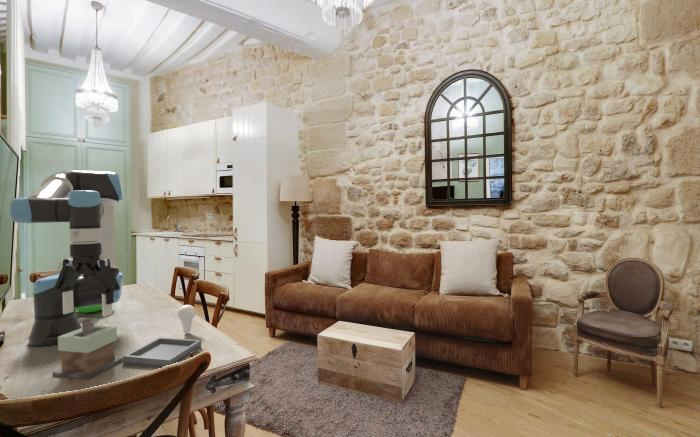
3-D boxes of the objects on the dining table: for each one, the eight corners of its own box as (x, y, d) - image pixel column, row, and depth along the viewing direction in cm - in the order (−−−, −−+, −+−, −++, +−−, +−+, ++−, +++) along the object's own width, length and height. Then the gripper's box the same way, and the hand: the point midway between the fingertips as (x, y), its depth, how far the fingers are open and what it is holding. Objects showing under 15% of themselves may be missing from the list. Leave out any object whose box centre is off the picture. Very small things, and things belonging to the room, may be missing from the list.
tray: (123, 364, 109) (123, 356, 109) (159, 344, 125) (159, 337, 125) (169, 368, 106) (169, 360, 106) (201, 347, 122) (201, 340, 122)
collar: (87, 353, 100) (87, 339, 100) (58, 350, 102) (57, 336, 102) (116, 339, 110) (116, 327, 110) (89, 337, 112) (89, 325, 112)
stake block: (52, 375, 102) (50, 324, 101) (90, 357, 113) (88, 311, 113) (88, 379, 100) (86, 326, 99) (122, 360, 111) (121, 313, 111)
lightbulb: (176, 337, 131) (176, 307, 131) (179, 331, 137) (179, 303, 137) (194, 335, 133) (194, 306, 132) (197, 330, 139) (196, 302, 138)
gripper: (37, 243, 104) (39, 315, 104) (111, 244, 99) (113, 319, 100) (62, 241, 111) (64, 308, 111) (132, 242, 107) (134, 312, 107)
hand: (87, 314), depth 106 cm, fingers open, 13 cm apart
